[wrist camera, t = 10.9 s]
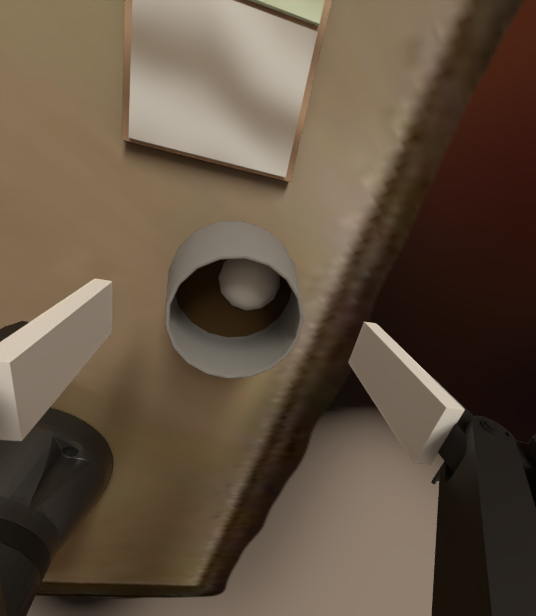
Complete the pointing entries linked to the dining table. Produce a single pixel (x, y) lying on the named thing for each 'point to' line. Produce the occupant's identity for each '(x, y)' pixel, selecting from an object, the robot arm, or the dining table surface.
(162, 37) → the green and white board
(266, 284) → the cup
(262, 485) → the dining table surface
